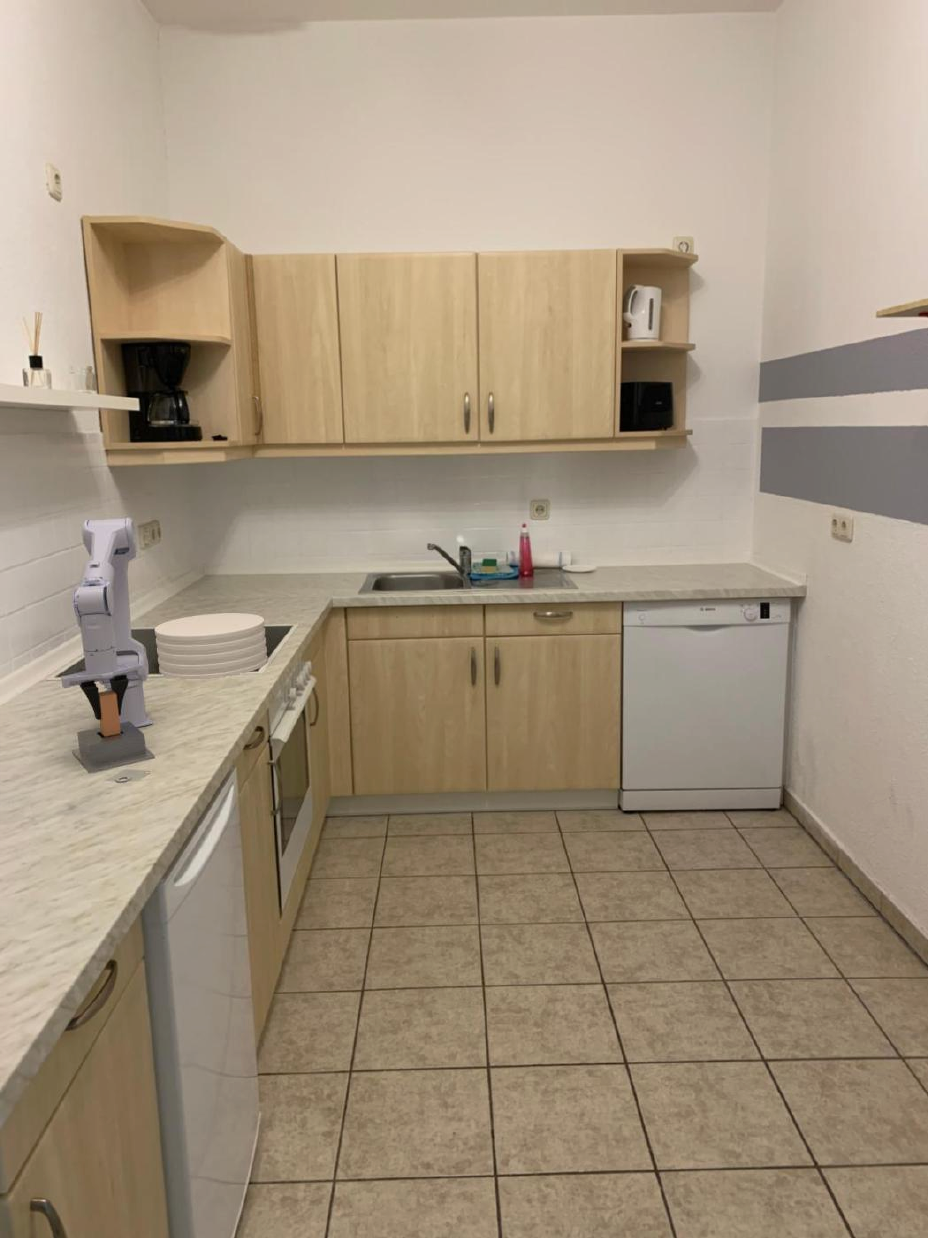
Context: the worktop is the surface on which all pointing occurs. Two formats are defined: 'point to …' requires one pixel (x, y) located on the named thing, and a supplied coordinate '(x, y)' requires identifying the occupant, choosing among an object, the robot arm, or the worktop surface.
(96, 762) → the slotted block
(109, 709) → the tan rectangular block
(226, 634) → the plate stack
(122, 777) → the mounting bracket
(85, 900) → the worktop surface
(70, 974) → the worktop surface
